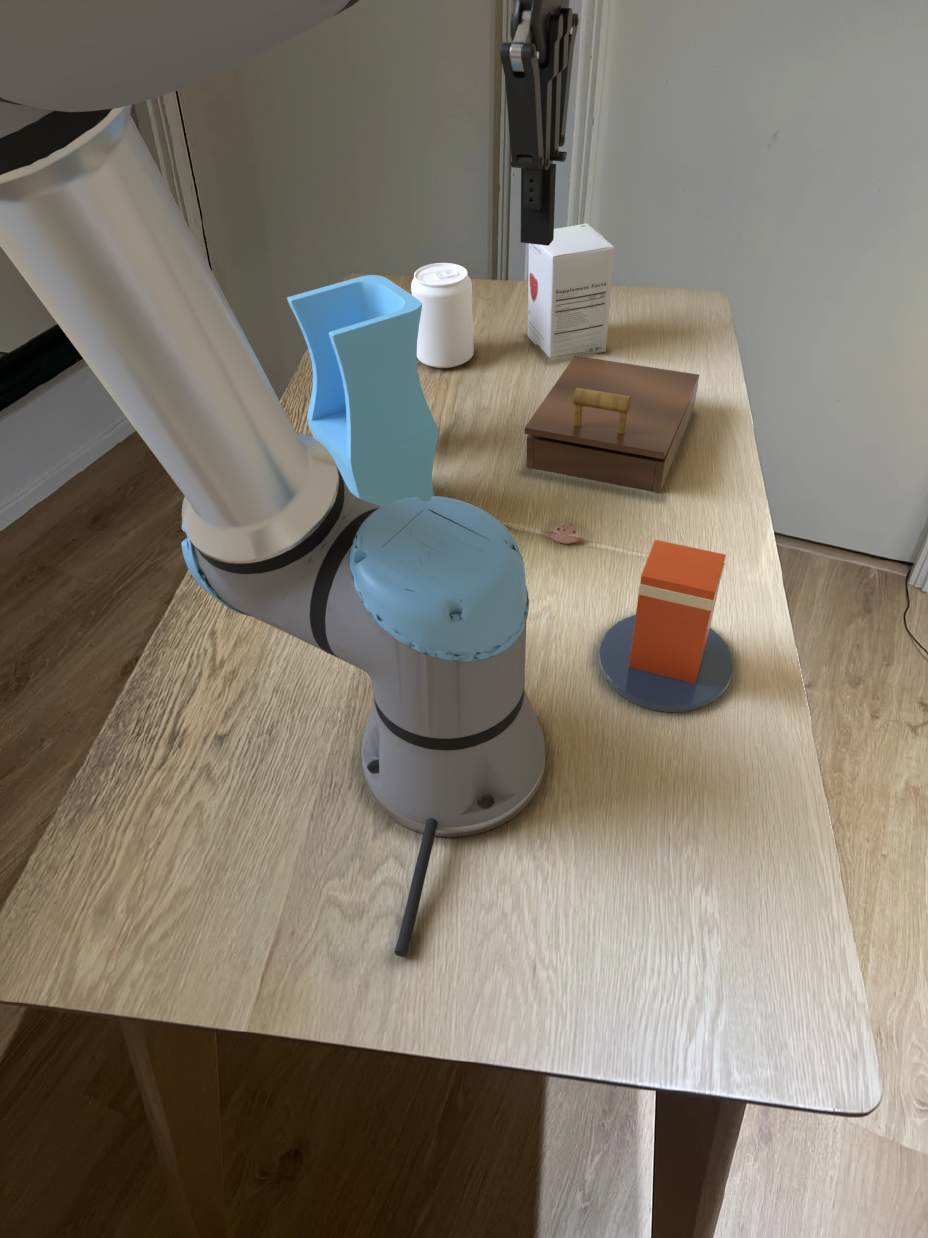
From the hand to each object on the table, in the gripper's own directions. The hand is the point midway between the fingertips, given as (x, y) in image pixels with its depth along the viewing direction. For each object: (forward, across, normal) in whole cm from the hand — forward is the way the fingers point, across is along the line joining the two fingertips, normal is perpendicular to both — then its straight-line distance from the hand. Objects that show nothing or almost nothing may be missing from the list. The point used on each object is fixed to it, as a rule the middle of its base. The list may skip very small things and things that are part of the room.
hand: (537, 240), depth 82 cm
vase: (+29, -10, +14) cm, 33 cm away
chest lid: (+23, +13, -6) cm, 27 cm away
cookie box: (+28, -21, -20) cm, 40 cm away
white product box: (+29, +36, +7) cm, 47 cm away
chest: (+28, +13, -6) cm, 32 cm away
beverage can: (+29, +27, +22) cm, 45 cm away
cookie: (+29, -6, -6) cm, 30 cm away
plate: (+28, -21, -20) cm, 41 cm away
